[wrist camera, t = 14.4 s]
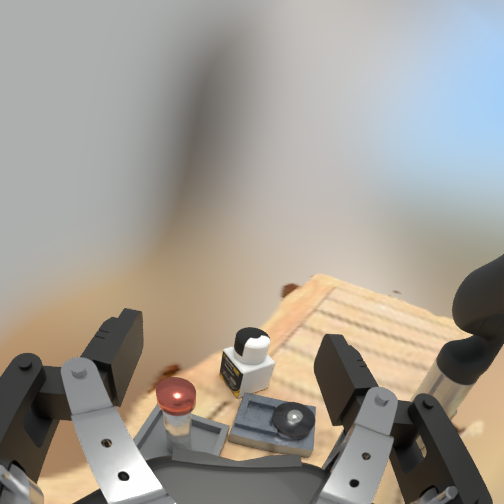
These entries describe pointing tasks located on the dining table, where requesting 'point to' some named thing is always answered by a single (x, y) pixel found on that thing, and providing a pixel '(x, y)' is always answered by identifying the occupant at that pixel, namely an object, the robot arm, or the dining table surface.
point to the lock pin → (176, 411)
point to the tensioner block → (274, 425)
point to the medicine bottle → (247, 362)
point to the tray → (202, 436)
